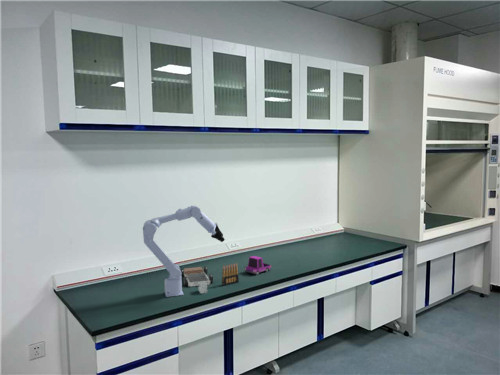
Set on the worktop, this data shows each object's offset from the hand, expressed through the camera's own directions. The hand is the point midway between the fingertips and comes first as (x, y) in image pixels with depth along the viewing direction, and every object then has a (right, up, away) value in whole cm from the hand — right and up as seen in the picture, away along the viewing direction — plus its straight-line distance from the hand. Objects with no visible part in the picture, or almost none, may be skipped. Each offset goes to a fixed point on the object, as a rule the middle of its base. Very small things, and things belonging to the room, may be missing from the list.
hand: (222, 238), depth 231 cm
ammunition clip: (+4, -28, +11) cm, 31 cm away
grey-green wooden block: (-11, -30, -2) cm, 32 cm away
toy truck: (+21, -26, +34) cm, 47 cm away
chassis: (-18, -27, +19) cm, 38 cm away
